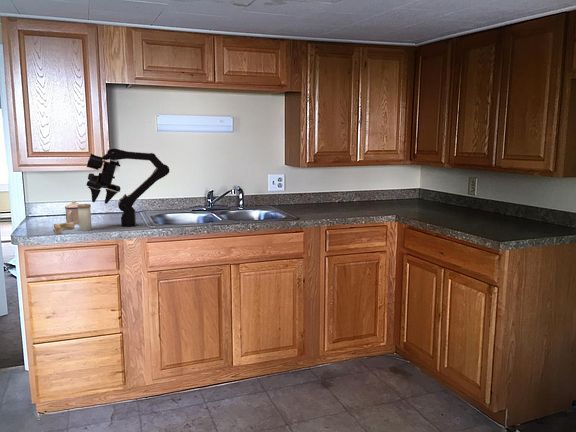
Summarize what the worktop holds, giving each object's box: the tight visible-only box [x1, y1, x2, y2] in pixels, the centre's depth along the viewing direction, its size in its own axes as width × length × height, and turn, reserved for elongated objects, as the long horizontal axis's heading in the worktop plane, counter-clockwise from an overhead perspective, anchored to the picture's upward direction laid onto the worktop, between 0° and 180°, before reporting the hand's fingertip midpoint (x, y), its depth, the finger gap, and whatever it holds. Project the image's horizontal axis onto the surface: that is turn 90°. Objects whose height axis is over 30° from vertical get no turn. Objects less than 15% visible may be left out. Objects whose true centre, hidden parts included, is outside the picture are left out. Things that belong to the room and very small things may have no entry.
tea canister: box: [77, 203, 93, 232], centre depth 246 cm, size 6×6×12 cm
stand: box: [53, 222, 75, 235], centre depth 242 cm, size 9×12×3 cm
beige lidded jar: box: [64, 200, 80, 225], centre depth 262 cm, size 12×9×12 cm
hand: (99, 202), depth 250 cm, fingers open, 9 cm apart
